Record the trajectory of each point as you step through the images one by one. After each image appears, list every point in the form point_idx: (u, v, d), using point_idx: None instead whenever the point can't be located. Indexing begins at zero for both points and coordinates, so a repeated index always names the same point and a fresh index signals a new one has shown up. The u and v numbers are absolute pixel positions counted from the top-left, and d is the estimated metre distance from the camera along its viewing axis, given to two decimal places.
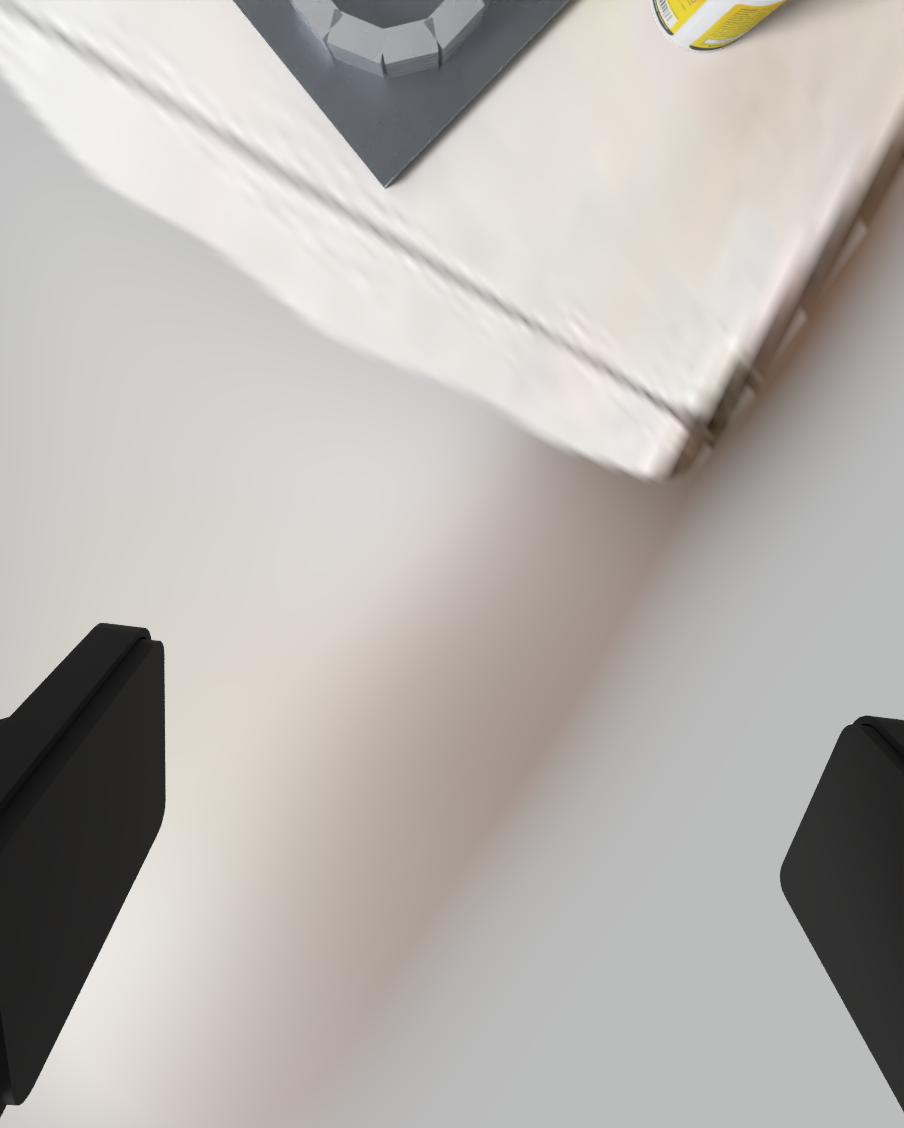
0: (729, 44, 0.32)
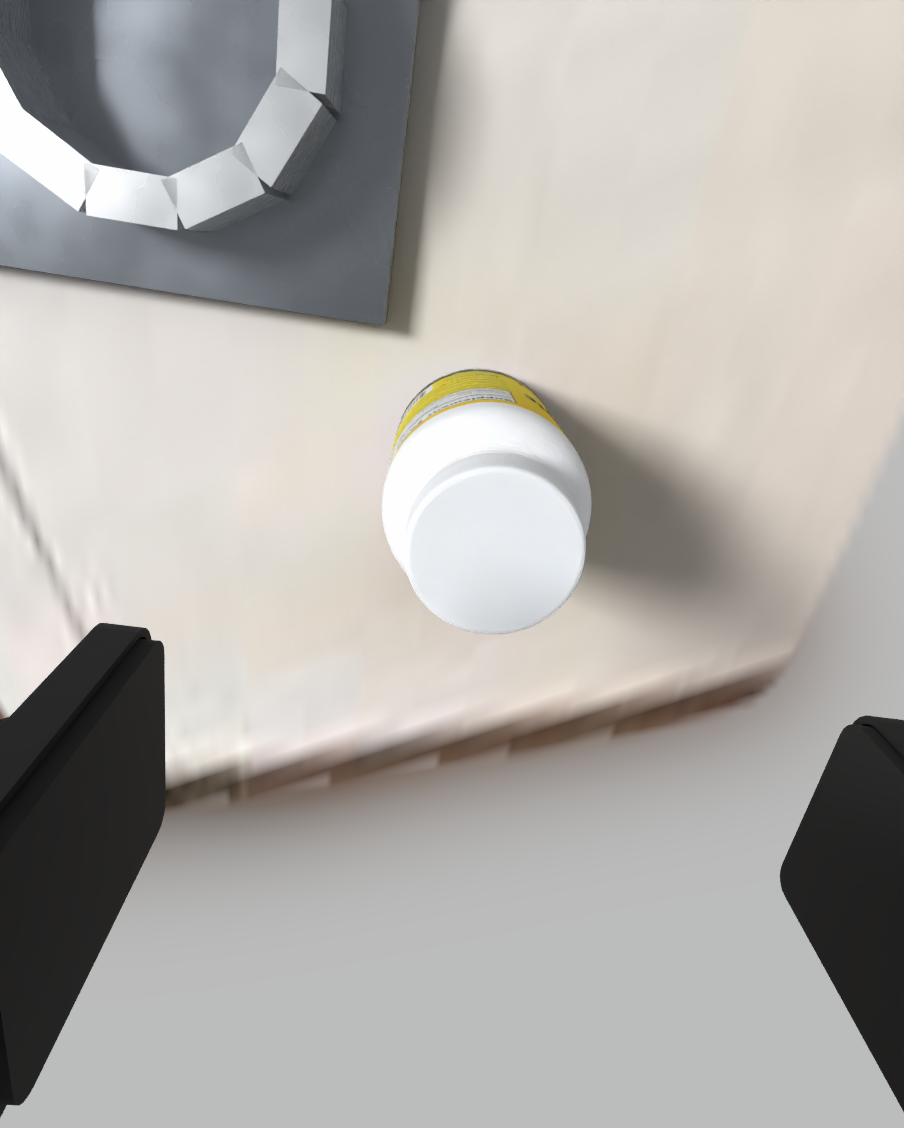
0: None
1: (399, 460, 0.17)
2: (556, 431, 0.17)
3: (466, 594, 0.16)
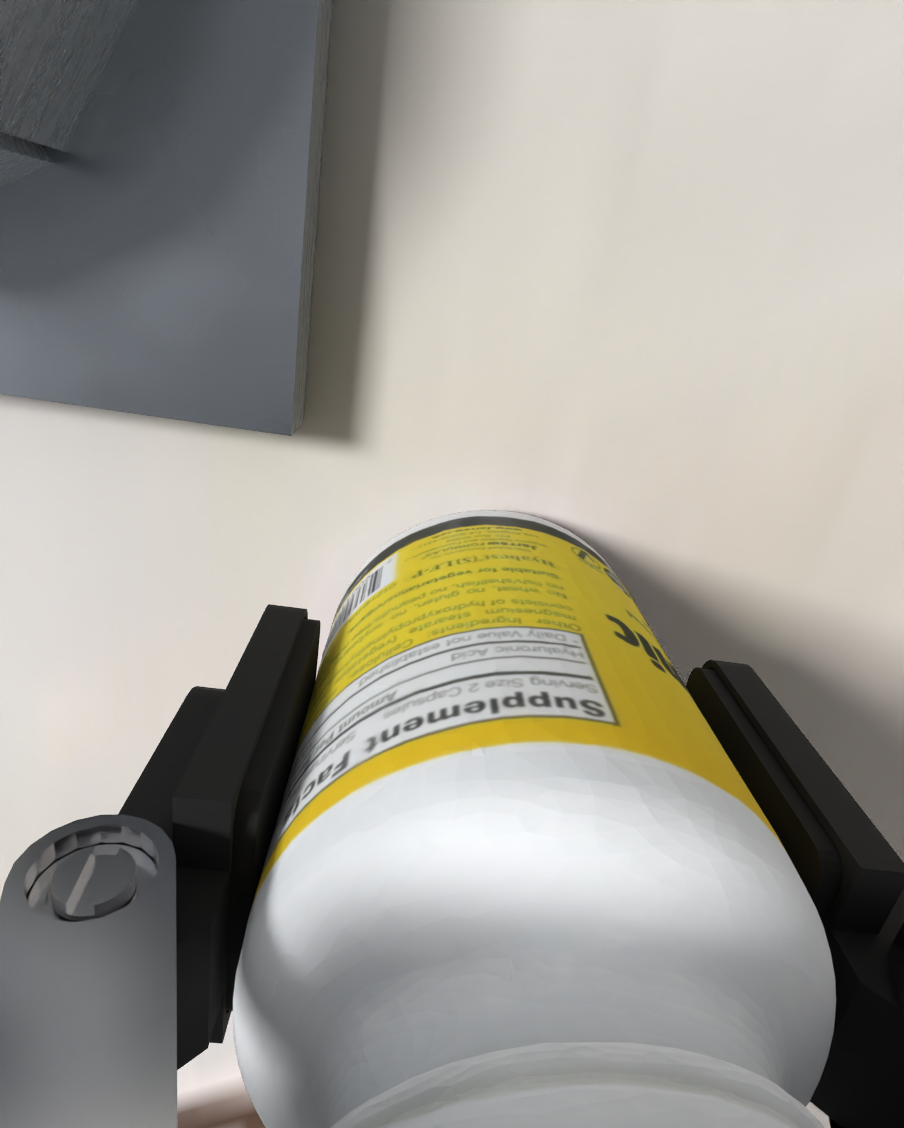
0: None
1: (268, 930, 0.06)
2: (753, 844, 0.05)
3: None
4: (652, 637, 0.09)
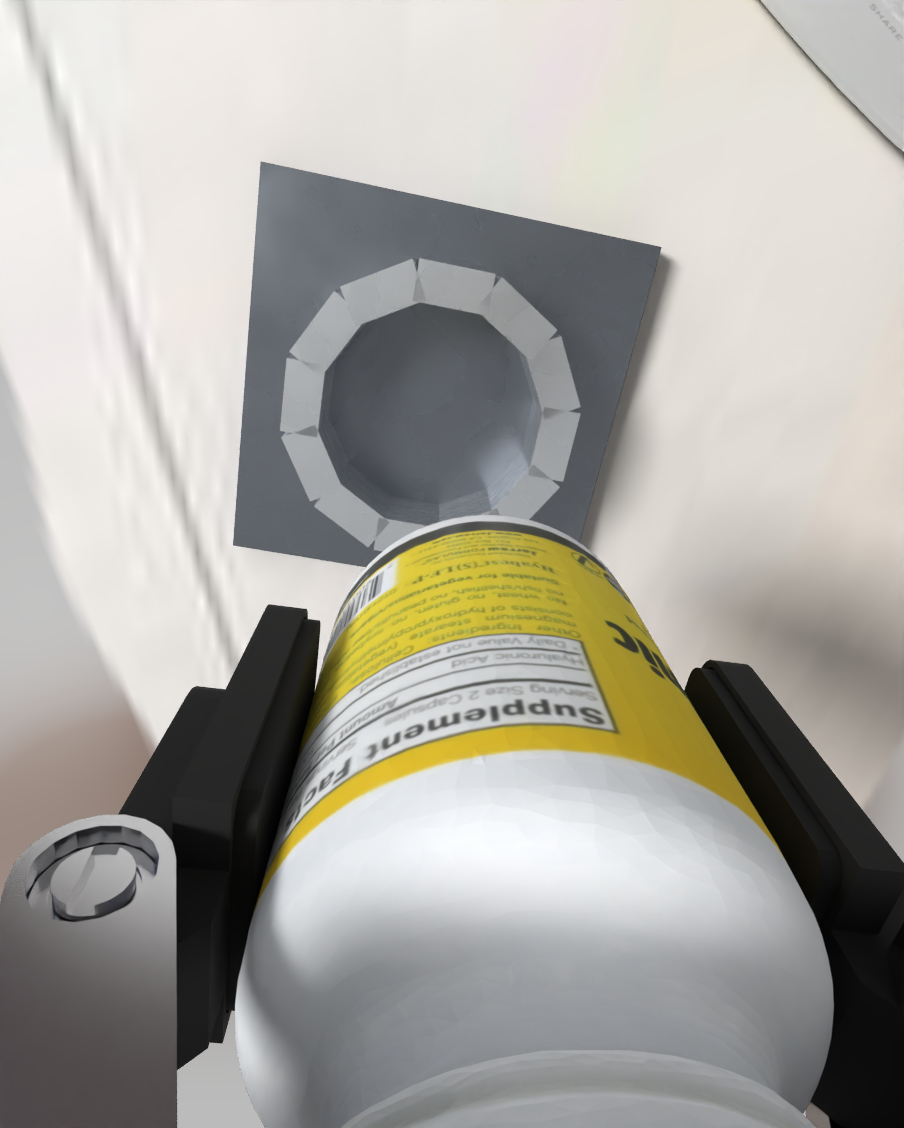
0: None
1: (271, 937, 0.06)
2: (752, 852, 0.06)
3: None
4: (652, 643, 0.09)
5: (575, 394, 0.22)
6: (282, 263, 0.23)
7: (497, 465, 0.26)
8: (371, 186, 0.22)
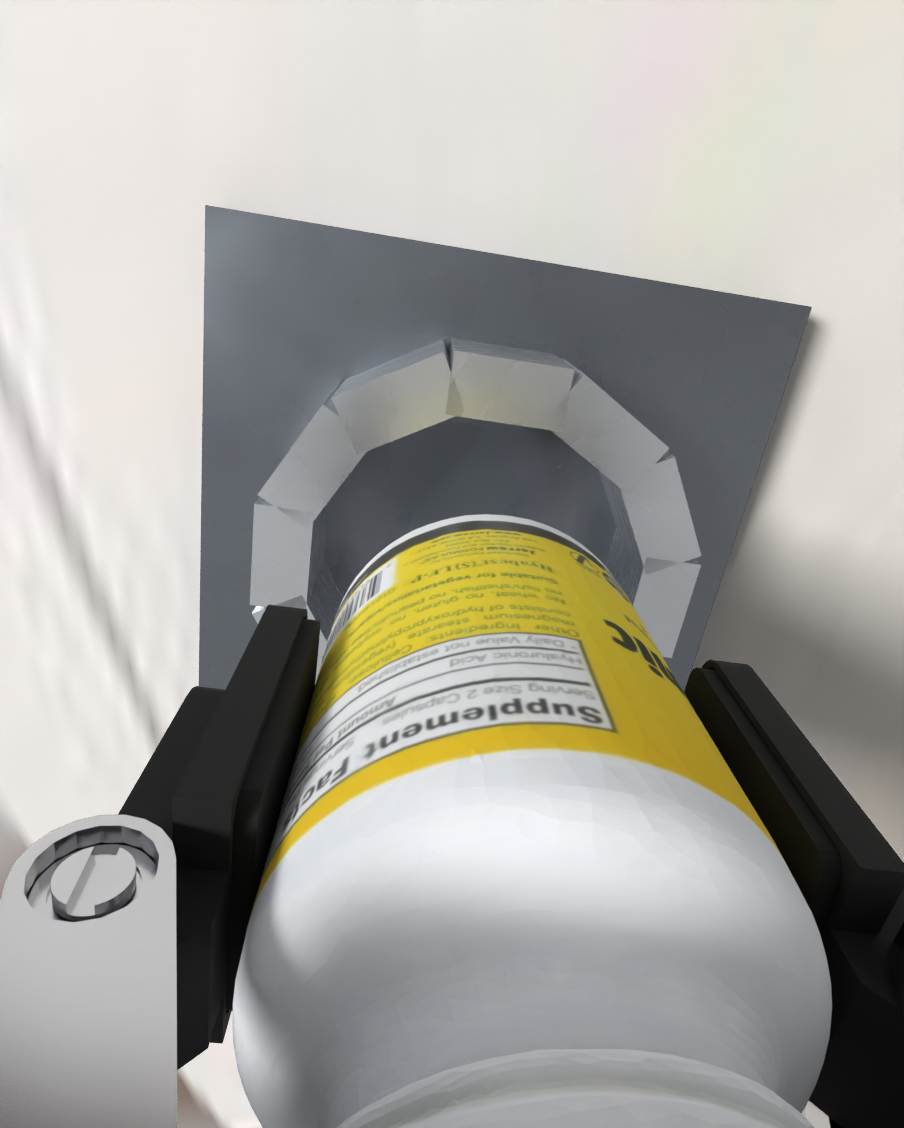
0: None
1: (268, 936, 0.06)
2: (749, 850, 0.06)
3: None
4: (650, 642, 0.09)
5: (694, 539, 0.15)
6: (246, 352, 0.15)
7: None
8: (374, 235, 0.15)
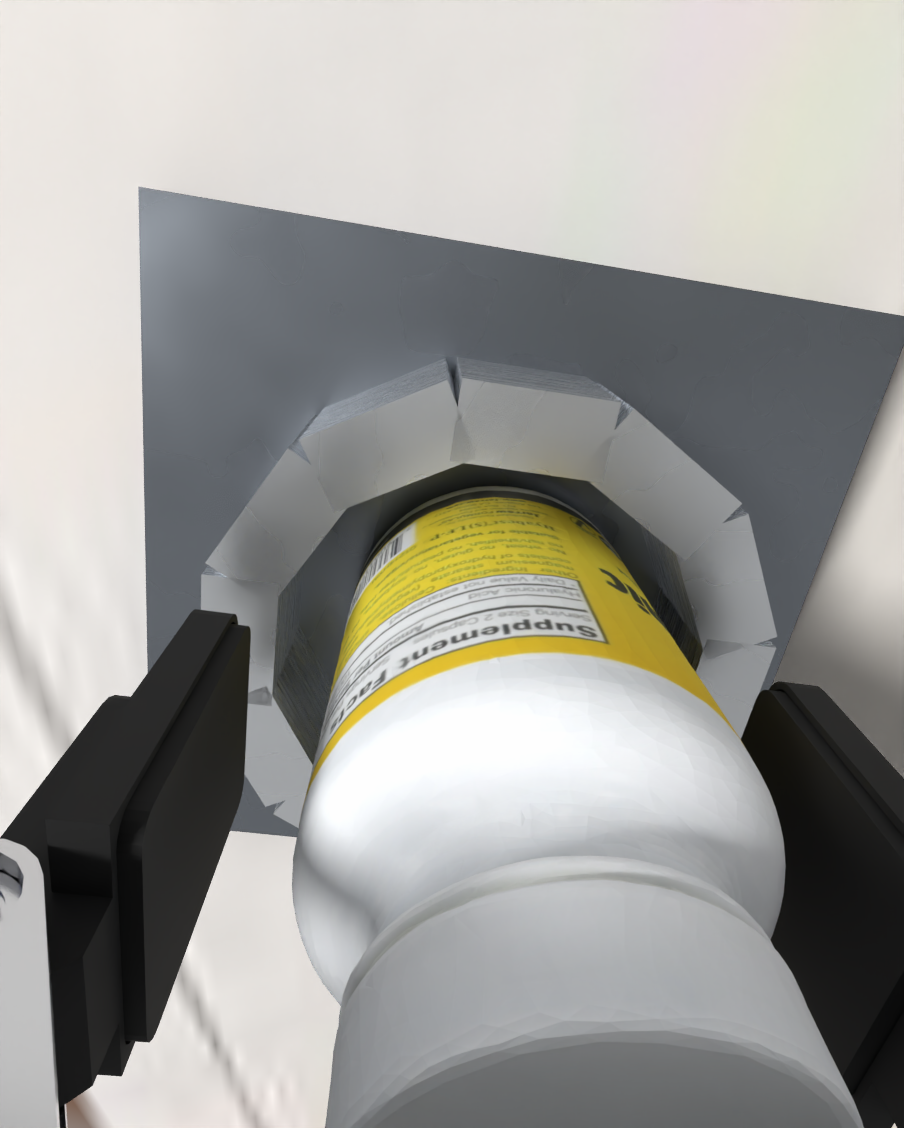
0: None
1: (327, 802, 0.07)
2: (715, 732, 0.07)
3: None
4: (640, 591, 0.11)
5: (769, 616, 0.11)
6: (196, 375, 0.12)
7: None
8: (358, 226, 0.11)
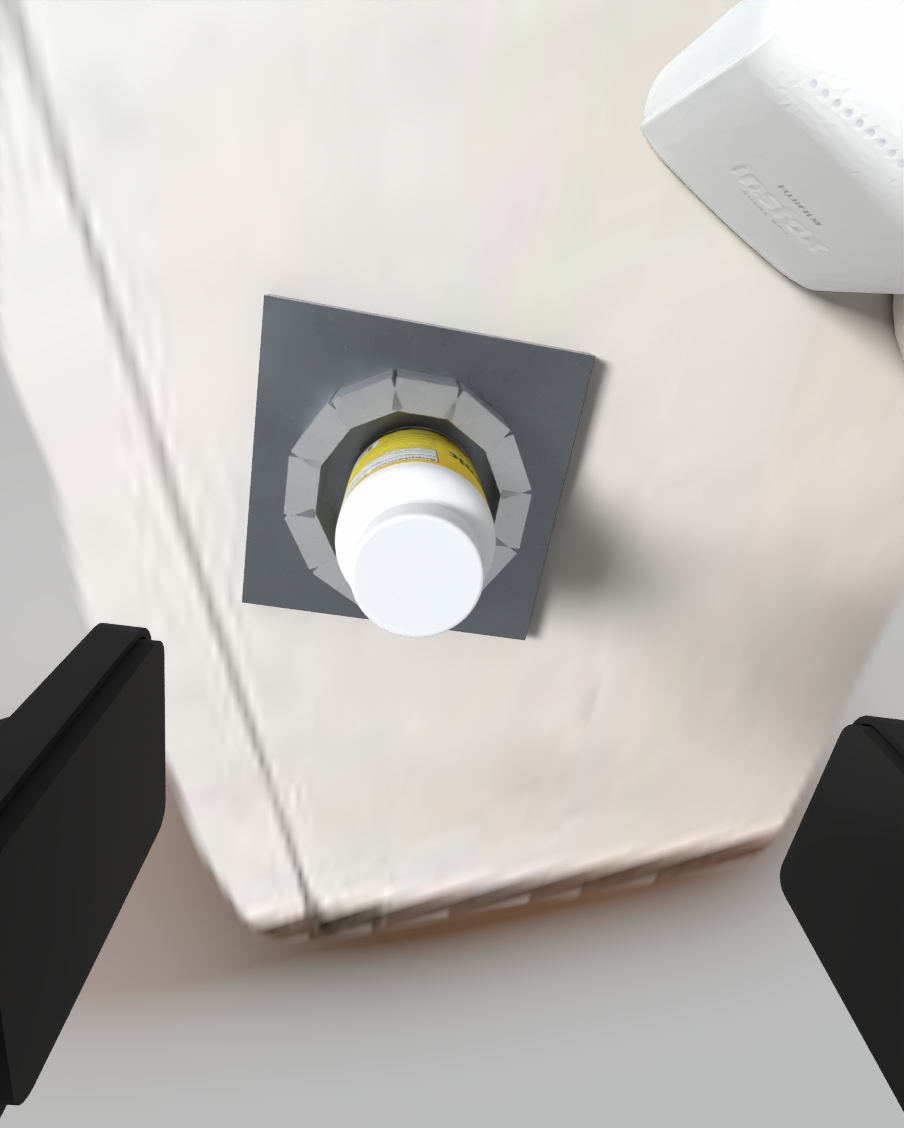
0: None
1: (348, 505, 0.22)
2: (467, 484, 0.22)
3: (396, 607, 0.21)
4: (468, 464, 0.26)
5: (526, 479, 0.27)
6: (282, 373, 0.28)
7: None
8: (355, 312, 0.27)
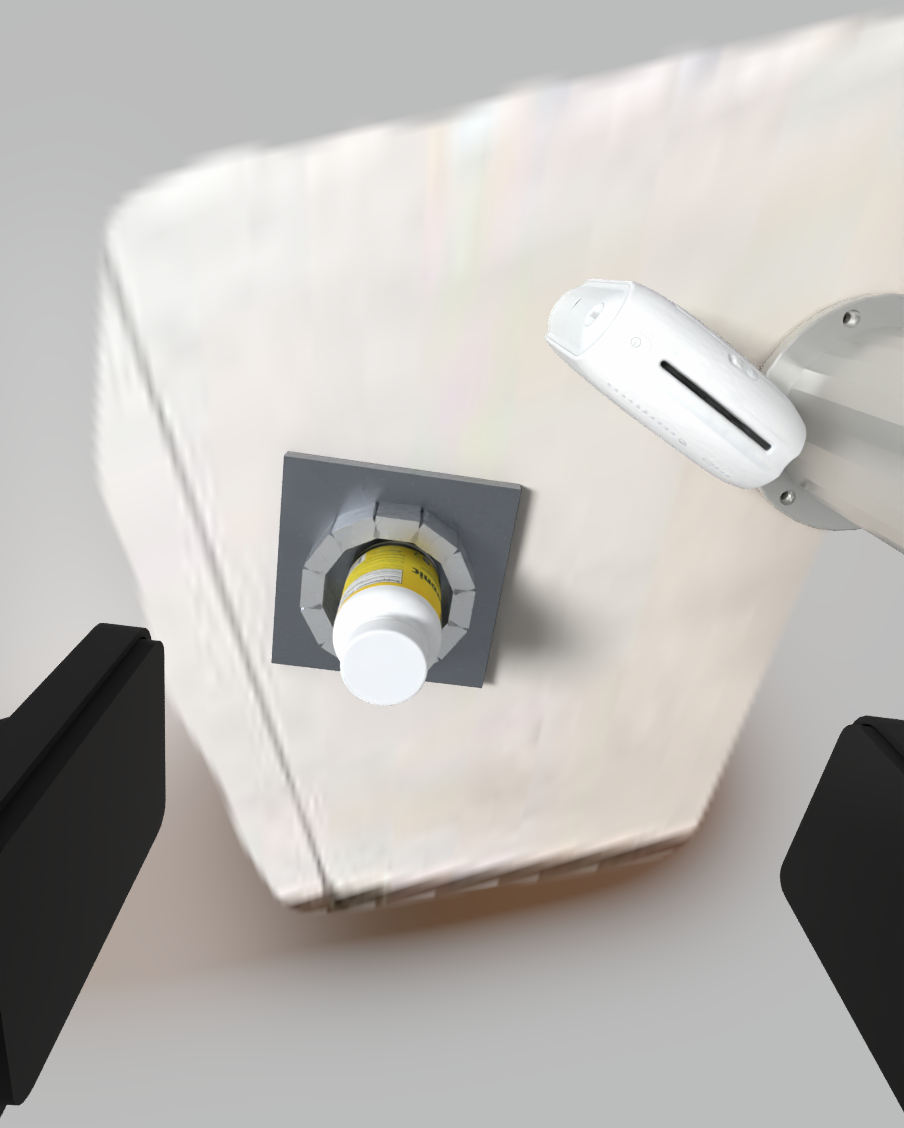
0: None
1: (340, 615, 0.33)
2: (419, 600, 0.33)
3: (370, 687, 0.32)
4: (428, 574, 0.37)
5: (471, 581, 0.38)
6: (297, 506, 0.39)
7: None
8: (348, 465, 0.38)
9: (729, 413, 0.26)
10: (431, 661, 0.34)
